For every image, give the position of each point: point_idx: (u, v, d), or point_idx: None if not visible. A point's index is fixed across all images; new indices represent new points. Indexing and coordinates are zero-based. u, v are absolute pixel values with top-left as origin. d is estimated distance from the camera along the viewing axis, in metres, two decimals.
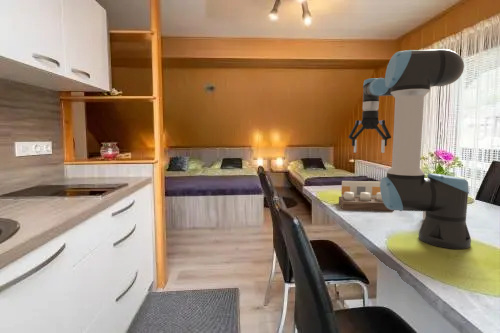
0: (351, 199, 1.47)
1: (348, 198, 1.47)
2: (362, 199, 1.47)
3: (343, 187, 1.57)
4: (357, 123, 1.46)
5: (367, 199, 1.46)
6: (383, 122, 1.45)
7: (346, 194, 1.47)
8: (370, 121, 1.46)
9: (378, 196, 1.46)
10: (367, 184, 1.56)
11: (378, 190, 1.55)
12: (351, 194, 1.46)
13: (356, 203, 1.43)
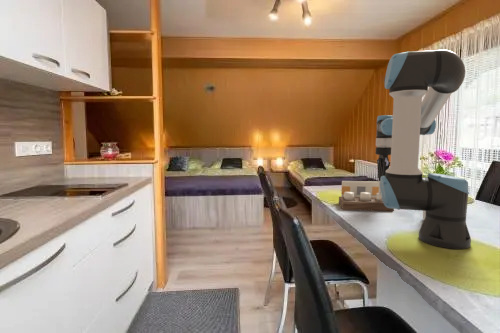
0: (351, 199, 1.47)
1: (348, 198, 1.47)
2: (362, 199, 1.47)
3: (343, 187, 1.57)
4: (377, 162, 1.50)
5: (367, 199, 1.46)
6: (384, 163, 1.40)
7: (346, 194, 1.47)
8: (381, 157, 1.45)
9: (378, 196, 1.46)
10: (367, 184, 1.56)
11: (378, 190, 1.55)
12: (351, 194, 1.46)
13: (356, 203, 1.43)
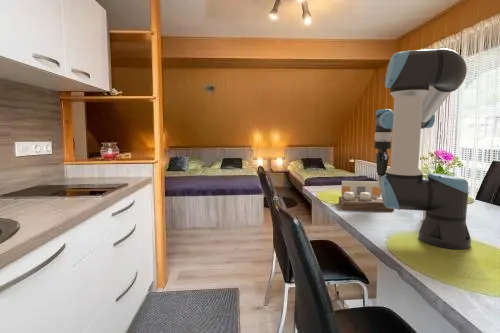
0: (351, 199, 1.47)
1: (348, 198, 1.47)
2: (362, 199, 1.47)
3: (343, 187, 1.57)
4: (376, 157, 1.50)
5: (367, 199, 1.46)
6: (382, 157, 1.40)
7: (346, 194, 1.47)
8: (380, 152, 1.45)
9: None
10: (367, 184, 1.56)
11: (378, 190, 1.55)
12: (351, 194, 1.46)
13: (356, 203, 1.43)
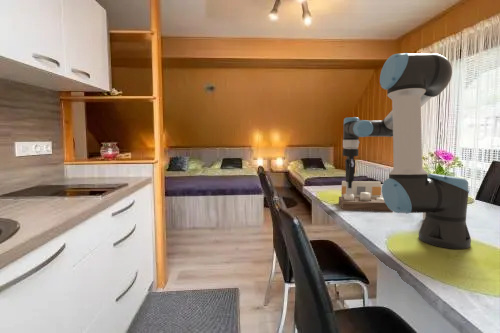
0: None
1: None
2: (362, 199, 1.47)
3: (343, 187, 1.57)
4: (345, 163, 1.52)
5: (367, 199, 1.46)
6: (349, 165, 1.42)
7: (346, 196, 1.47)
8: (347, 159, 1.47)
9: None
10: (367, 184, 1.56)
11: (378, 190, 1.55)
12: (351, 196, 1.47)
13: (356, 203, 1.43)
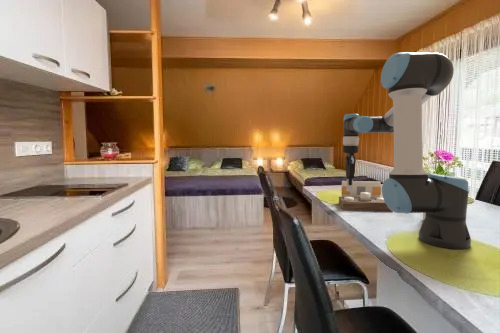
0: None
1: None
2: (362, 199, 1.47)
3: (343, 187, 1.57)
4: None
5: (367, 199, 1.46)
6: (349, 161, 1.42)
7: (346, 199, 1.48)
8: (348, 155, 1.47)
9: None
10: (367, 184, 1.56)
11: (378, 190, 1.55)
12: (351, 199, 1.47)
13: (356, 203, 1.43)
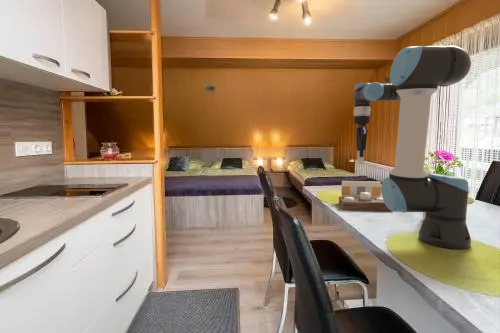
0: None
1: None
2: (362, 199, 1.47)
3: (343, 187, 1.57)
4: (356, 133, 1.48)
5: (367, 199, 1.46)
6: (361, 132, 1.38)
7: (346, 199, 1.48)
8: (359, 127, 1.43)
9: None
10: (367, 184, 1.56)
11: (378, 190, 1.55)
12: (351, 199, 1.47)
13: (356, 203, 1.43)
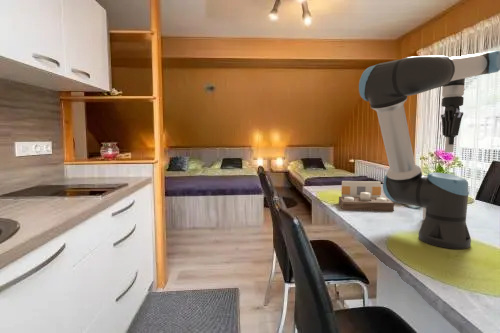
0: None
1: None
2: (362, 199, 1.47)
3: (343, 187, 1.57)
4: (442, 117, 1.29)
5: (367, 199, 1.46)
6: (455, 115, 1.19)
7: (346, 199, 1.48)
8: (449, 110, 1.24)
9: None
10: (367, 184, 1.56)
11: (378, 190, 1.55)
12: (351, 199, 1.47)
13: (356, 203, 1.43)
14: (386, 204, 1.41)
